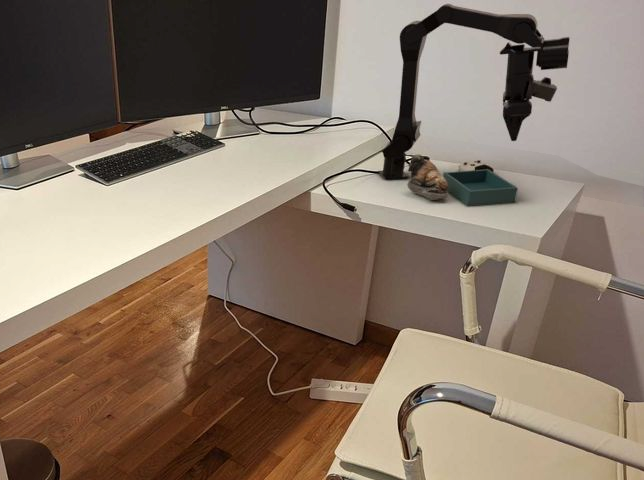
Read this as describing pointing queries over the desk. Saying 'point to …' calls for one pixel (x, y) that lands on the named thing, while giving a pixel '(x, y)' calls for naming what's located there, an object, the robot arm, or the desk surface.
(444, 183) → the bison figurine
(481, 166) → the game controller
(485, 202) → the bin
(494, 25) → the robot arm
